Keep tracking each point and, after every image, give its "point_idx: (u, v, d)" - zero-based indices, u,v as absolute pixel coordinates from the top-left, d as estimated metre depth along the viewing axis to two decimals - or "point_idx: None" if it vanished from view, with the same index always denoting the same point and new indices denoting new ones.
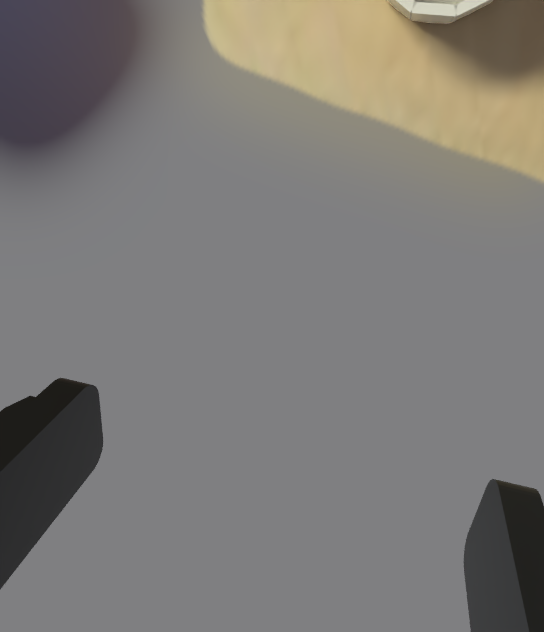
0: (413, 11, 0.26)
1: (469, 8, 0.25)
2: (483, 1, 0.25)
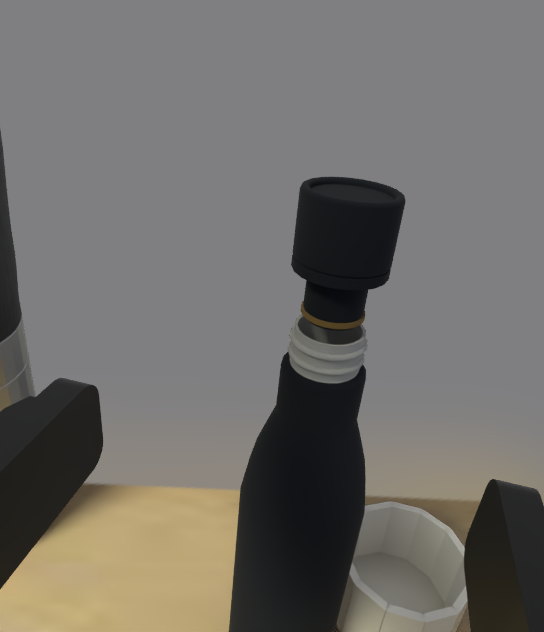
0: None
1: (464, 548, 0.34)
2: (458, 540, 0.34)
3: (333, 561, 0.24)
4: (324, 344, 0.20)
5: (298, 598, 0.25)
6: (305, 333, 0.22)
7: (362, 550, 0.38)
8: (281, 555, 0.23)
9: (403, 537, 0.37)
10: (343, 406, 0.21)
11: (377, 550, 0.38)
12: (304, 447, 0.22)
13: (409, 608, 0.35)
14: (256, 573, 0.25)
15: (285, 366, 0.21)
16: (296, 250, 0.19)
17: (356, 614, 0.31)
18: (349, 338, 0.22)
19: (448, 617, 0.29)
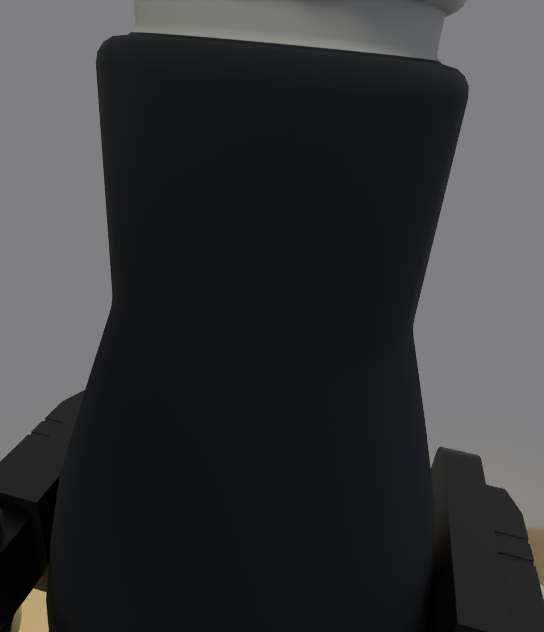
0: None
1: None
2: None
3: None
4: None
5: None
6: None
7: None
8: None
9: None
10: (370, 198, 0.04)
11: None
12: (199, 409, 0.05)
13: None
14: None
15: None
16: None
17: None
18: None
19: None
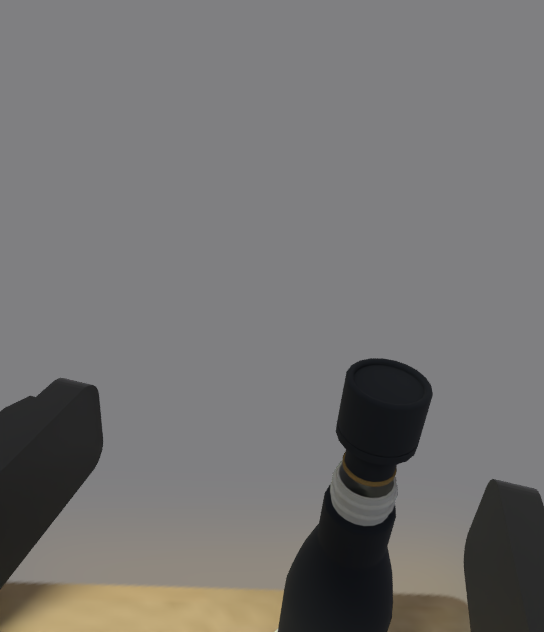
0: None
1: None
2: None
3: None
4: (363, 498, 0.24)
5: None
6: (343, 473, 0.26)
7: None
8: None
9: None
10: (377, 542, 0.25)
11: None
12: (343, 574, 0.26)
13: None
14: None
15: (328, 506, 0.26)
16: (341, 426, 0.23)
17: None
18: None
19: None
